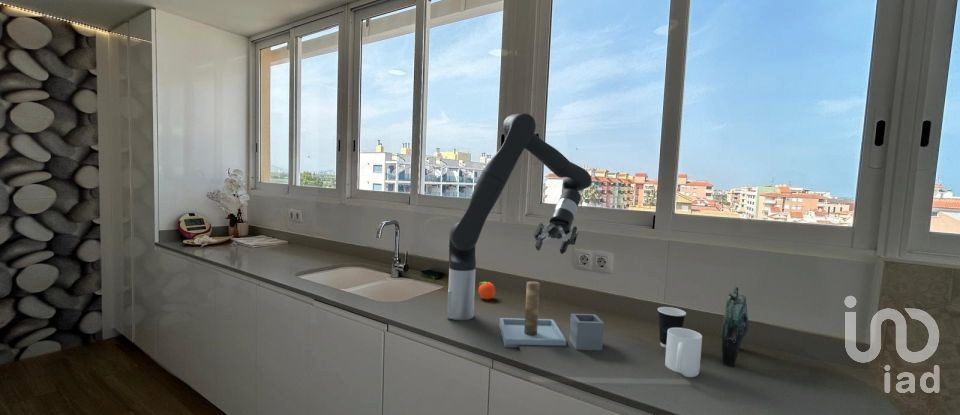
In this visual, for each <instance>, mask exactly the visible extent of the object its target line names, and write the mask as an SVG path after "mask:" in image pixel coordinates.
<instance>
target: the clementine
mask: <svg viewBox="0 0 960 415" xmlns="http://www.w3.org/2000/svg"><path fill="white" fill-rule="evenodd" d="M478 285H479V286H478ZM478 285H475V286H476V287H477V286H478V290H477V291H478V294H479V296H480V297H481V299H484V300H490V299H492V298H494V296H495V295H496V286H495V285H494V284H493V282H491V281H480V282H478ZM476 287H475V288H476Z"/></svg>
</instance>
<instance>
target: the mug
mask: <svg viewBox="0 0 960 415" xmlns="http://www.w3.org/2000/svg"><path fill="white" fill-rule="evenodd" d="M702 343H703V335H702V334H701V333H700V332H698V331H695V330H693V329H690V328H684V327H682V328H669V329H668V331H667V344H666V348H665V361H664V365H665V367H667V368H668V369H669V370H672V371H673V372H676V373H679V374H681V375H682V376H684V377H685V378H695V377H697V376H698V375H699V373H700V369H701V368H700V366H701V358H702V357H701V355H702V345H703V344H702Z"/></svg>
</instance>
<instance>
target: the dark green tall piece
mask: <svg viewBox="0 0 960 415" xmlns="http://www.w3.org/2000/svg"><path fill="white" fill-rule="evenodd" d="M732 290H733V293H731V292H730V293H729V294H728V295H727V299H726V305H725V312H724V315H723V317H722V318H723V319H722V326H721V327H722V328H721V353H722V355H721V357H722V359H721V363H722V365H723V366H724V365H725V366H726V367H727V366H729V367H732V368H735V366H736V362H737V358H738V355H739V351H741V350H740V349H741V344H742V343H743V342H742V341H743V339H744V338H745V337H746V335H747V333H748V331H749V317H748V306H747V296H746V295H744V294H739V287H737V286H735V287H734V288H733V289H732Z"/></svg>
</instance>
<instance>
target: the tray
mask: <svg viewBox="0 0 960 415" xmlns="http://www.w3.org/2000/svg"><path fill="white" fill-rule="evenodd" d="M498 323H499V325H498V327H499V329H500V334H501V338H502V342H503V345H504V348H513V349H514V348H516V349H520V345H522V346H526V345H527V346H533V345H534V346H559V347H561V346H562V347H563V346H565V347H566V346H567V340H566V338H565V336H564V335H563V333H562V331H561V330H560V329H559V327H558V325H557V323H556V321H555V320H554V319H553V318H552V319H551V318H550V319H549V318H538V325H537V335H533V336H531V335H526V334H525V333H524V328H525V318H514V317H513V318H510V317H499V322H498Z"/></svg>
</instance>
